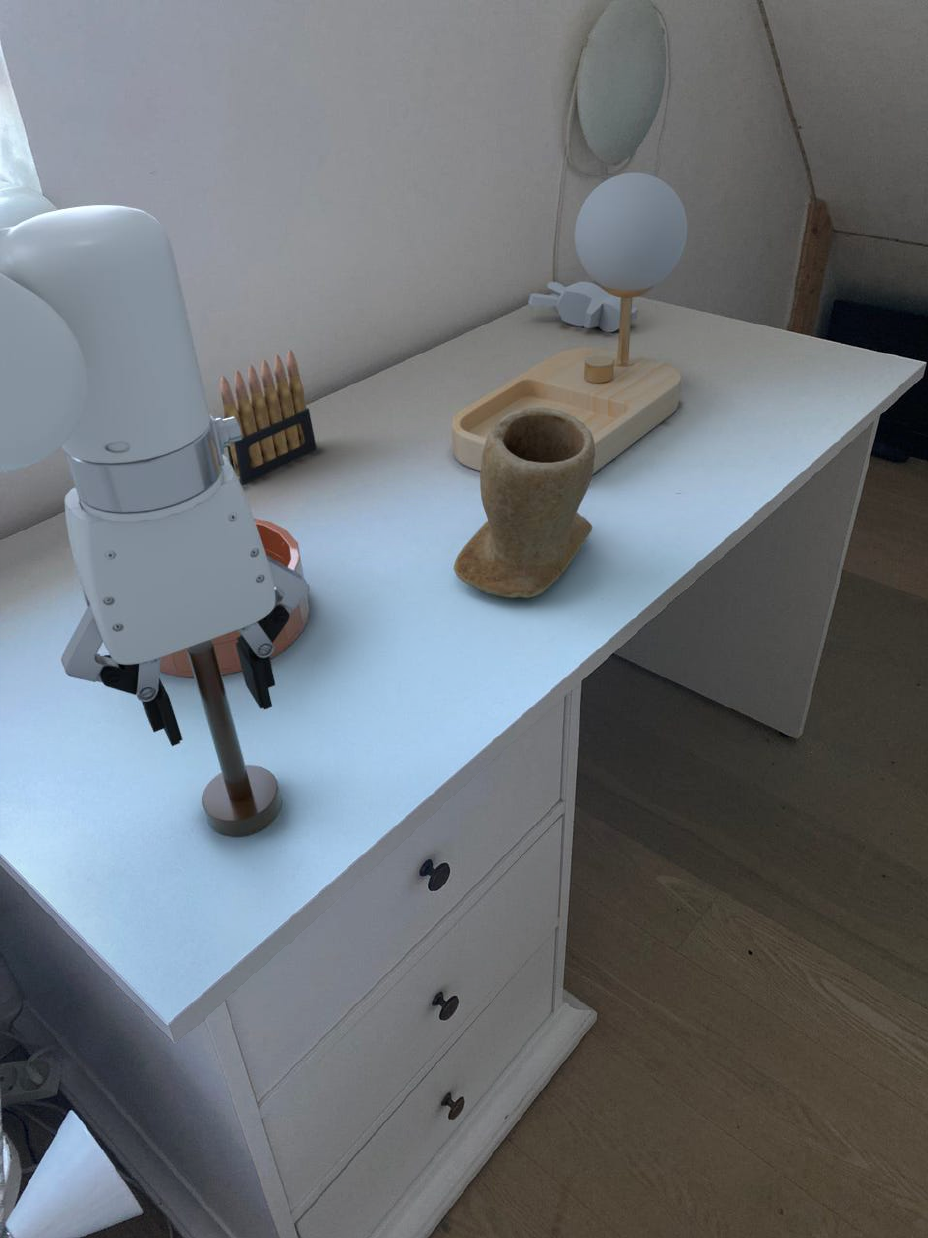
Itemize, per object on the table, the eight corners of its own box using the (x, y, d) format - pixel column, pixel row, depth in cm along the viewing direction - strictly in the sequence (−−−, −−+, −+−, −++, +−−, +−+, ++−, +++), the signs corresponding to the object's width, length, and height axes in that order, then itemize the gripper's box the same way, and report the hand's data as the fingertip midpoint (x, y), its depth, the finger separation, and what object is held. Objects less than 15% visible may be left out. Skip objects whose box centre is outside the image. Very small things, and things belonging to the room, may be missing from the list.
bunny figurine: (619, 312, 129) (524, 284, 135) (613, 348, 132) (521, 319, 138) (648, 292, 135) (556, 265, 141) (641, 326, 139) (552, 299, 144)
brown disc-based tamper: (221, 848, 64) (171, 686, 55) (196, 800, 67) (145, 639, 58) (293, 815, 66) (255, 653, 57) (264, 770, 69) (225, 610, 60)
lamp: (561, 499, 98) (566, 248, 83) (433, 457, 107) (416, 222, 91) (707, 387, 118) (733, 169, 103) (589, 359, 127) (596, 154, 112)
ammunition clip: (306, 444, 111) (290, 344, 103) (317, 448, 110) (301, 348, 102) (232, 479, 105) (210, 376, 97) (242, 484, 104) (220, 381, 96)
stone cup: (555, 623, 81) (559, 469, 72) (438, 588, 86) (427, 439, 77) (623, 538, 92) (633, 393, 83) (514, 510, 97) (513, 371, 88)
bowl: (159, 702, 76) (141, 644, 72) (111, 605, 87) (93, 550, 83) (337, 635, 82) (328, 578, 78) (271, 552, 92) (260, 499, 89)
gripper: (272, 397, 56) (314, 637, 67) (-36, 479, 49) (68, 730, 60) (323, 445, 51) (360, 697, 62) (-14, 544, 44) (95, 806, 55)
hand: (215, 711), depth 61 cm, fingers open, 5 cm apart
